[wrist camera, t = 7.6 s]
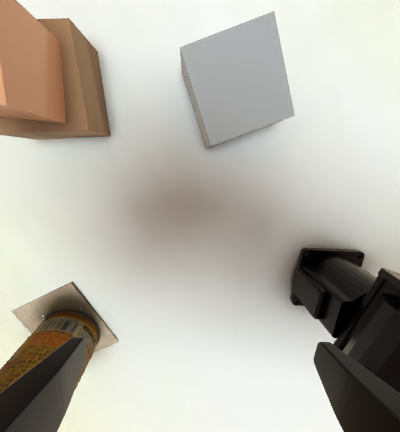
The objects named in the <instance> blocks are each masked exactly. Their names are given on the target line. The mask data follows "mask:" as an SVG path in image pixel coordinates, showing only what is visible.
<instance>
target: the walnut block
mask: <svg viewBox="0 0 400 432" xmlns="http://www.w3.org/2000/svg"><path fill="white" fill-rule="evenodd" d="M37 20H38V21H39V22H40V23H41V24H42V25H43V26H44V27H45V28H46V29H47V30H48V31H50V32H51V33H52V34H53V35H54V36H55V37H56V38H57V39H58V40H59V41H60V44H61V58H62V71H63V85H64V98H65V112H66V123H56V122H46V121H36V120H26V119H16V118H6V117H0V135H6V136H14V137H22V138H30V139H58V138H81V137H104V136H110V130H109V123H108V117H107V110H106V104H105V97H104V91H103V84H102V78H101V71H100V65H99V58H98V52H97V51H96V49H95V48H94V47H93V46H92V45H91V44H90V42H89V41H88V40H87V39H86V38H85V37H84V35H83V34H82V33H81V32H80V31H79V30H78V28H77V27H76V26H75V25H74V24H73V23H72V21H71V20H70V19H69V18H66V19H37Z"/></svg>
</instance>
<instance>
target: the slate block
mask: <svg viewBox="0 0 400 432" xmlns="http://www.w3.org/2000/svg"><path fill="white" fill-rule="evenodd" d="M180 54H181V67H182V75H183V78H184V81H185V84H186V87H187V90H188V93H189V96H190V99H191V103H192V106H193V109H194V112H195V115H196V118H197V121H198V124H199V127H200V131H201V134H202V137H203V140H204V143H205V146H206V148H209V147H212V146H214V145H217V144H220V143H223V142H225V141H228V140H231V139H234V138H236V137H239V136H242V135H245V134H247V133H250V132H253V131H256V130H258V129H261V128H264V127H267V126H269V125H272V124H275V123H277V122H279V121H282V120H284V119H287V118H289V117H291V116H294V110H293V105H292V100H291V95H290V90H289V85H288V80H287V75H286V70H285V64H284V59H283V54H282V49H281V44H280V39H279V34H278V29H277V24H276V19H275V14H274V11H273V12H271V13H268V14H266V15H263V16H260V17H258V18H255V19H253V20H250V21H247V22H245V23H242V24H240V25H237V26H234V27H232V28H229V29H227V30H224V31H222V32H219V33H216V34H214V35H211V36H209V37H206V38H203V39H201V40H198V41H196V42H193V43H190V44H188V45H185V46H183V47H180Z"/></svg>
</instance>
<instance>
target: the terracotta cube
mask: <svg viewBox="0 0 400 432" xmlns="http://www.w3.org/2000/svg"><path fill="white" fill-rule="evenodd" d="M0 117H6V118H16V119H26V120H36V121H46V122H56V123H66V112H65V98H64V85H63V71H62V58H61V44H60V41H59V40H58V39H57V38H56V37H55V36H54V35H53V34H52V33H51V32H50V31H48V30H47V29H46V28H45V27H44V26H43V25H42V24H41V23H40V22H39V21H38V20H37V19H36V18H34V17H33V16H32V15H31V14H30V13H29V12H28V11H27V10H26V9H25V8H24V7H23V6H21V5H20V4H19V3H18V2H17V1H16V0H0Z"/></svg>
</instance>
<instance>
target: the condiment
mask: <svg viewBox="0 0 400 432" xmlns="http://www.w3.org/2000/svg"><path fill="white" fill-rule="evenodd" d="M80 309H81V310H80ZM12 312H13V314H14V315H15V316H16V317H17V318H18V319H19V320H20V321H21V322H22V323H23V325H24V326H25V327H26V328H28V330H29V331H30V332H31V334H32V335H31V336H30V337H28V339H27V340H26V341H25V342H24V343H23V345H22V346H20V347H19V349H18V350H17V351H16V352H15V354H14V355H13V356H12V357H11V358H10V359H9V360H8V361H7V363H6V364H4V366H3V367H2V368H1V369H0V392H2V391H3V390H4V389H6V388H7V387H8V386H10V385H11V384H12V383H13V382H15V381H16V380H17V379H19V378H20V377H21V376H22V375H24V374H25V373H26V372H28V371H29V370H30V369H32V368H33V367H34V366H35V365H37V364H38V363H39V362H41V361H42V360H43V359H44V358H46V357H47V356H48V355H50V354H51V353H52V352H54V351H55V350H56V349H57V348H59V347H60V346H61V345H63V344H64V343H65V342H66V341H68V340H69V339H70V338H72V337H84V338H85V340H86V350H87V357H86V361H85V364H84V366H83V369H82V372H81V374H80V377H79V380H78V382H77V385H78V383H79V381H80V379H81V376H82V375H83V373H84V371H85V368H86V366H87V364H88V362H89V360H90V359H91V357H92V354H93V352H95V351H97V350H100V349H102V348H105V347H108V346H110V345H112V344H114V343H116V342H118V340H117V339H116V338H115V336H114V335H113V334H112V332H111V331H110V330H109V328H107V326H106V324H105V323H104V322H103V321H102V320H101V319H100V317H99V316H98V315H97V314H96V312H95V311H93V310H92V309H91V307H90V305H89V304H88V303H87V302H86V300H85V299H84V297H83V296H82V295H81V294H80V293H79V292H78V291H77V290H76V289H75V287H74V286H73V285H72V283H70V284H68V285H66V286H63V287H61V288H59V289H57V290H55V291H53V292H50V293H48V294H46V295H44V296H42V297H40V298H38V299H36V300H34V301H32V302H30V303H28V304H26V305H24V306H22V307H20V308H18V309H16V310H14V311H12ZM42 315H44V317H42ZM42 319H44V321H43V320H42ZM77 385H76V387H77ZM76 387H75V389H76Z"/></svg>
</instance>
